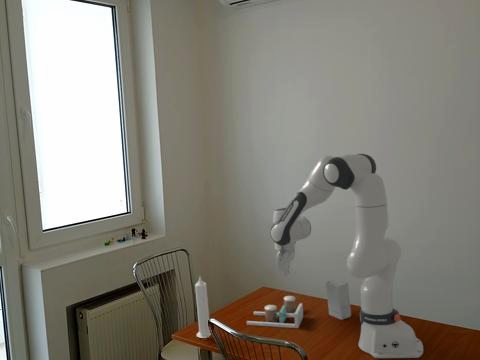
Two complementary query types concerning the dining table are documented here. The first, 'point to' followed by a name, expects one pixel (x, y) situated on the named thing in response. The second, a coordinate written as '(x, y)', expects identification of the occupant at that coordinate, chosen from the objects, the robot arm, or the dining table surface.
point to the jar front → (271, 313)
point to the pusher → (282, 314)
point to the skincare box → (338, 299)
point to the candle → (202, 309)
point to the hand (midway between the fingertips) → (286, 274)
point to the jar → (290, 304)
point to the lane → (297, 316)
